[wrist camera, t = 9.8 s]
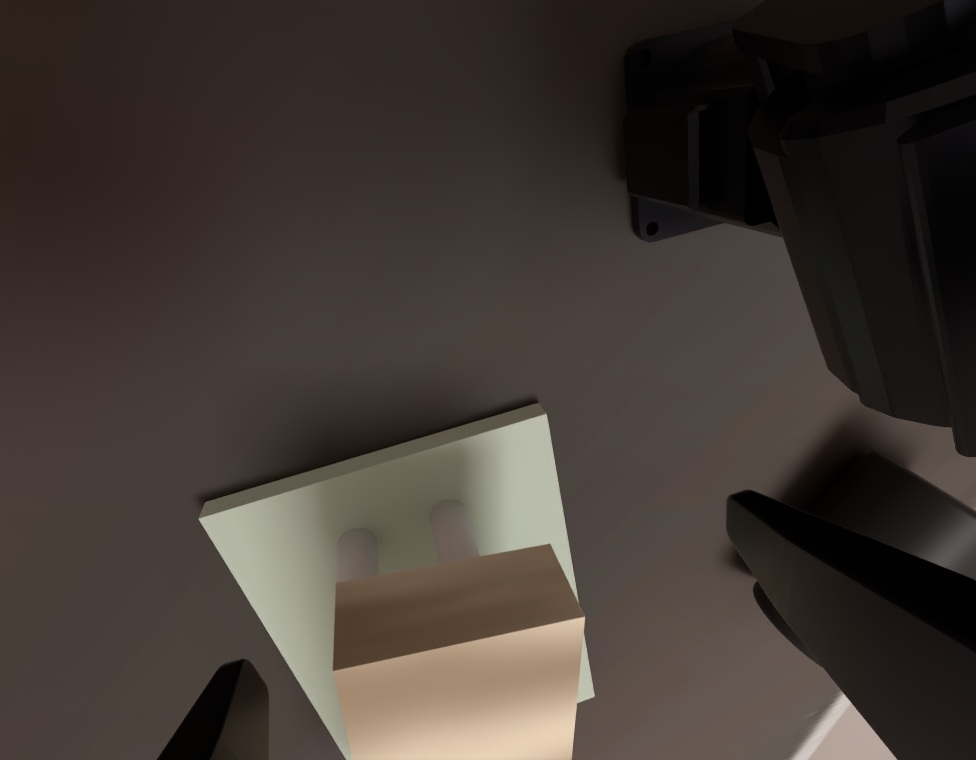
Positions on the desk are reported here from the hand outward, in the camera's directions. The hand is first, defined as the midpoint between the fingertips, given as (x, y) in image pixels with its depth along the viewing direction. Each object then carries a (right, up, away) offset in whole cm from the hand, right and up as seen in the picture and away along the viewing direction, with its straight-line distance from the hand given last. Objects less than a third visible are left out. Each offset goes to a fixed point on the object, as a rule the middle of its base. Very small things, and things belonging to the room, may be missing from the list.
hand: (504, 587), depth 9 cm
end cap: (+19, -4, +21) cm, 28 cm away
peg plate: (-3, -8, +17) cm, 19 cm away
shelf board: (-1, -10, +11) cm, 15 cm away
